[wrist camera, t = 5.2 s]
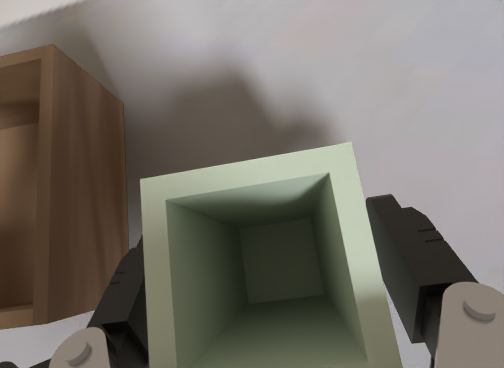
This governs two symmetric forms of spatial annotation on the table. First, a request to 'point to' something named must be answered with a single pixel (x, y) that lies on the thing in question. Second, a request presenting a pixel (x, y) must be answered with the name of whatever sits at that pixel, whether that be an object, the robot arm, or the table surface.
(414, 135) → the table surface
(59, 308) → the walnut crate
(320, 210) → the green square vase
